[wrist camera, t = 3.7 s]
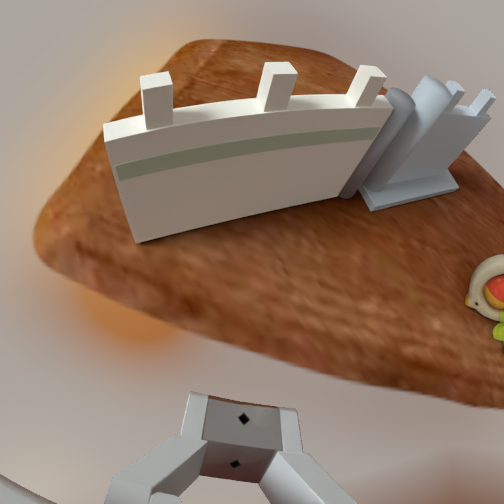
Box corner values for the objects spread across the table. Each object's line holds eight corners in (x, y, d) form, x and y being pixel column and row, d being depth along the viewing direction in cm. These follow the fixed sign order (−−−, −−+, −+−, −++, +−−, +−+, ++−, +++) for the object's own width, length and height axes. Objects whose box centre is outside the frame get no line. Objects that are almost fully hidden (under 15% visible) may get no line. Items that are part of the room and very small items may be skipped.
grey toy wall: (431, 155, 32) (491, 79, 20) (454, 191, 30) (524, 119, 19) (344, 165, 28) (408, 57, 17) (370, 211, 26) (454, 108, 15)
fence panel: (347, 177, 27) (416, 68, 16) (357, 196, 26) (435, 88, 15) (131, 223, 22) (94, 80, 11) (136, 248, 21) (95, 108, 10)
